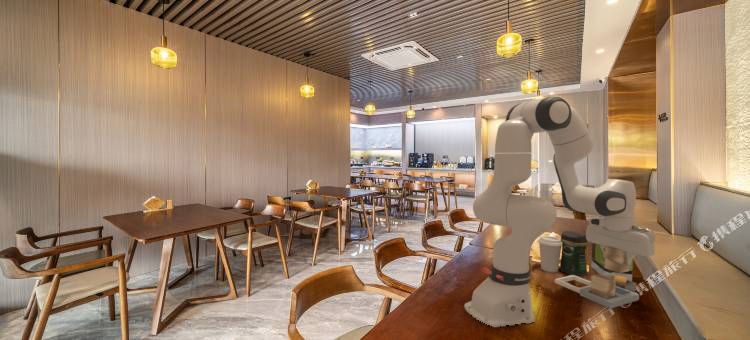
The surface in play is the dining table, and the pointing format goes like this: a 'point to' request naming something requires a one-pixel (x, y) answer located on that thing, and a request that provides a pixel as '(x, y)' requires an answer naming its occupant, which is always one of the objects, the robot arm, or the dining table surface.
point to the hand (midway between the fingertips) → (617, 260)
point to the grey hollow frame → (620, 298)
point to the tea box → (599, 264)
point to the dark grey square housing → (627, 285)
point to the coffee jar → (573, 253)
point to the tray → (563, 283)
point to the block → (616, 260)
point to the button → (620, 279)
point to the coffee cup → (550, 253)
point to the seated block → (603, 286)
